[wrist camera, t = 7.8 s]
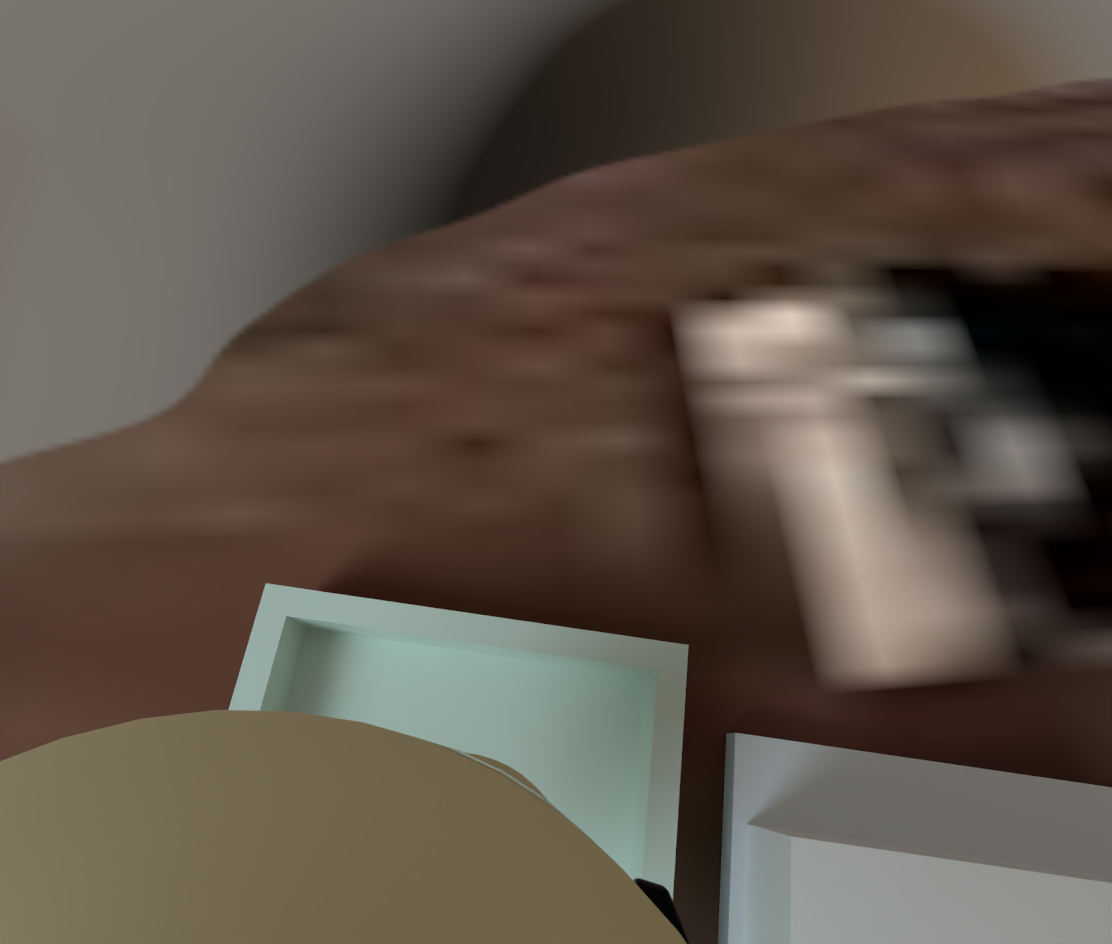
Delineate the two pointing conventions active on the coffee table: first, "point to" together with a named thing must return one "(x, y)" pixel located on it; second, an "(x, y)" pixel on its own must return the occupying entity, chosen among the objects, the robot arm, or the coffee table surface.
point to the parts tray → (494, 702)
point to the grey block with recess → (905, 805)
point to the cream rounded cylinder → (295, 842)
